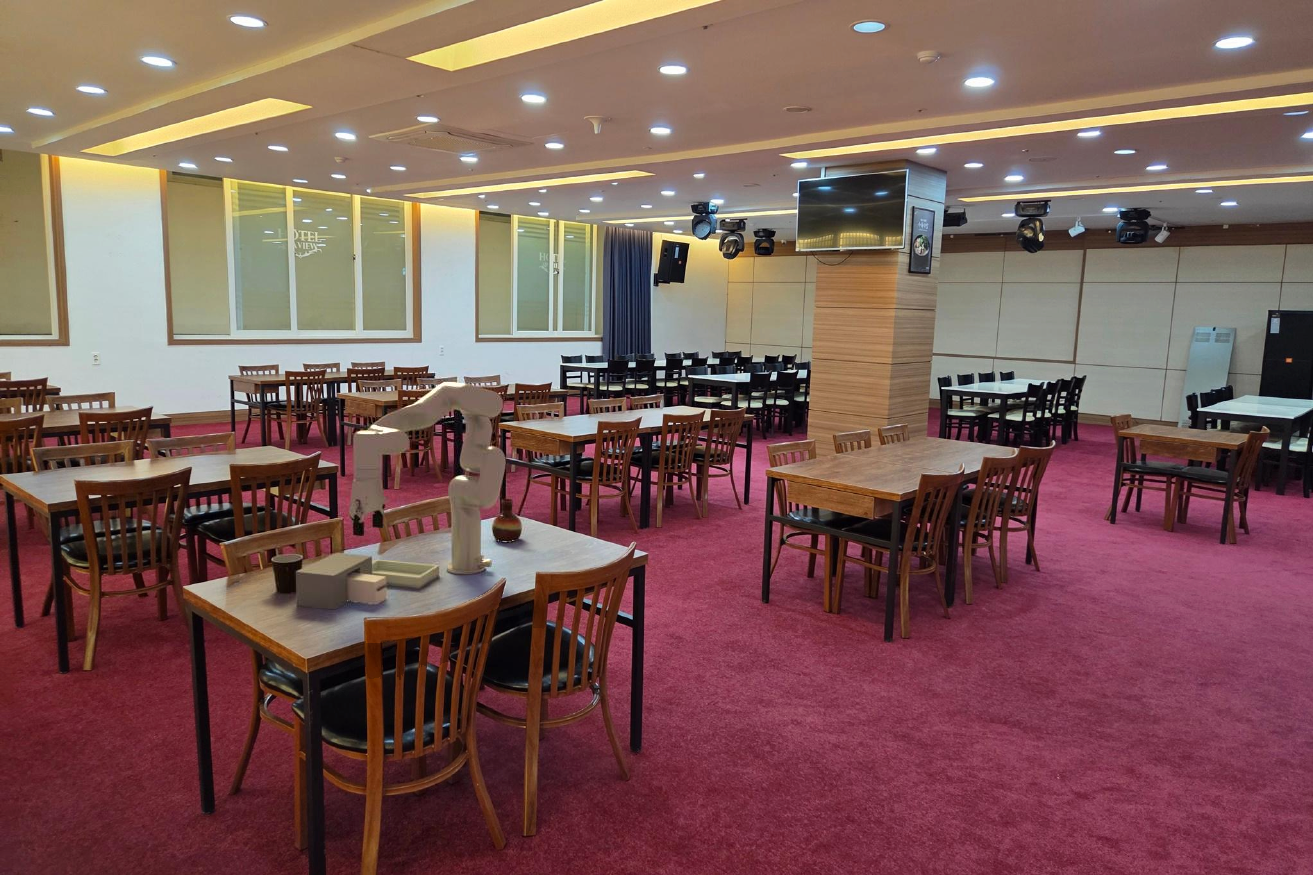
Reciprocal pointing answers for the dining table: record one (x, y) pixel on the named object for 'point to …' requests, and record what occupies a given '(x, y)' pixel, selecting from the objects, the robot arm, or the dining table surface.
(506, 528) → the vase
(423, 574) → the tray
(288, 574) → the coffee mug
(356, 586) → the tan cardboard box
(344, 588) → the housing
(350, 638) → the dining table surface
